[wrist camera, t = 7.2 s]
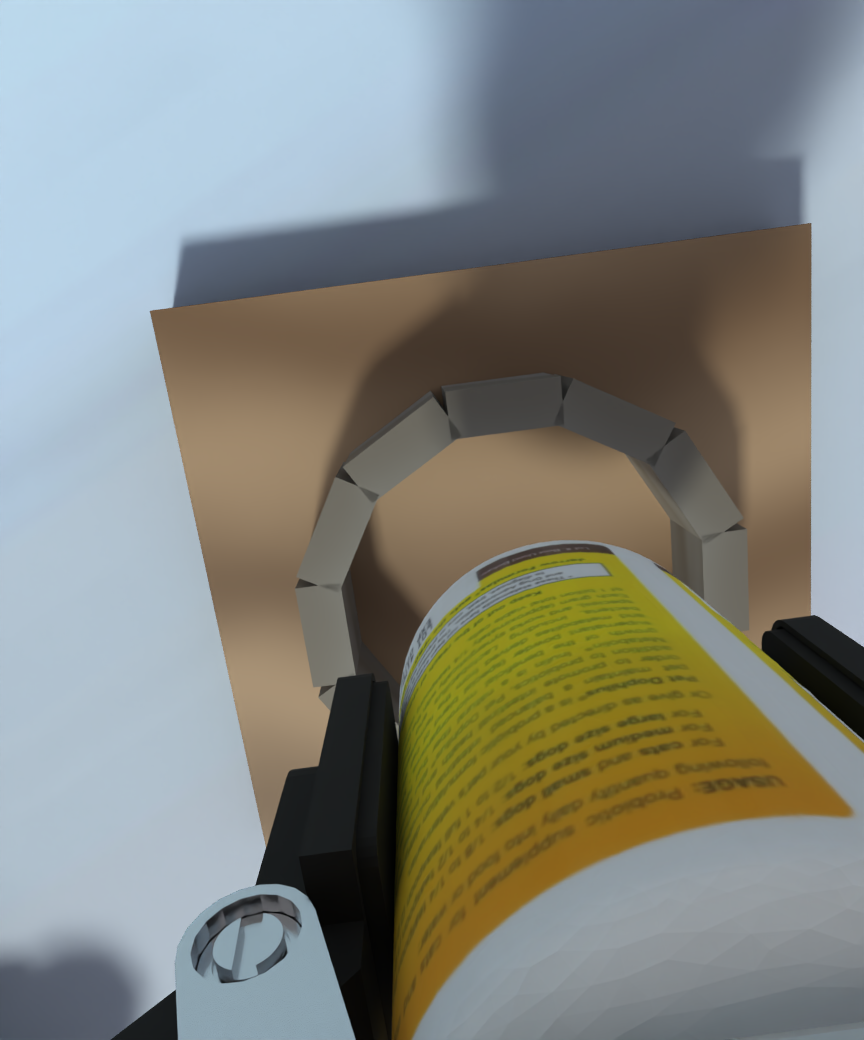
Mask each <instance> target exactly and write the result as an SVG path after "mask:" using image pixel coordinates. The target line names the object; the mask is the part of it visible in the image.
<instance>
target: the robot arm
mask: <svg viewBox="0 0 864 1040" xmlns="http://www.w3.org/2000/svg"><path fill="white" fill-rule="evenodd" d="M761 644H762V651H763V652H764V653H765V654H766V655H768V656H769V657H770V658H771V659H773V660H774V661H775V662H777V663H778V664H779V666H780V667H782V668H783V669H784V670H785V671H786V672H787V673H788V674H790V675H791V676H792V677H793V678H794V679H795V680H796V681H797V682H798V683H799V684H801V685H802V686H803V687H804V688H806V689H807V690H808V691H810V692H811V693H812V694H813V695H814V697H815V698H816V699H818V700H819V701H820V702H821V703H822V704H823V705H824V706H826V707H827V708H828V709H829V710H830V711H831V712H832V713H833V714H835V715H836V716H837V717H838V718H839V719H840V720H841V721H843V722H844V723H845V724H846V725H847V726H848V727H849V728H850V729H852V730H853V731H854V732H855V733H856V734H857V735H858V736H859V737H861V738H862V739H863V740H864V647H863V646H861V645H860V644H858V643H857V642H855V641H854V640H852V639H851V638H849V637H848V636H846V635H845V634H843V633H842V632H840V631H839V630H837V629H836V628H834V627H833V626H832V625H830V624H829V623H827V622H826V621H824V620H823V619H821V618H820V617H818V616H815V615H812V616H805V617H797V618H789V619H782V620H776V621H775V622H774V623H773V626H772V629H771V630H770V631H765V632H764V633H763V636H762V643H761ZM397 777H398V737H397V730H396V724H395V717H394V711H393V705H392V698H391V692H390V686H389V682H388V681H381V682H376V680H375V676H374V673H370V674H362V675H355V676H347V677H339V678H338V679H337V683H336V687H335V692H334V696H333V701H332V705H331V710H330V715H329V719H328V724H327V728H326V733H325V738H324V742H323V747H322V751H321V756H320V761H319V765H318V766H315V767H307V768H299V769H292V770H290V771H289V772H288V775H287V777H286V780H285V784H284V787H283V791H282V794H281V798H280V801H279V805H278V808H277V812H276V815H275V819H274V822H273V826H272V829H271V833H270V836H269V840H268V843H267V847H266V850H265V854H264V857H263V861H262V864H261V868H260V871H259V875H258V878H257V882H256V885H255V886H253V887H249V888H245V889H241V890H238V891H236V892H234V893H232V894H230V895H228V896H226V897H223V898H221V899H219V900H218V901H217V902H215V903H214V904H212V905H211V906H210V907H208V908H207V909H206V910H204V911H203V912H202V913H201V914H200V915H199V916H198V917H197V918H196V919H195V920H194V921H193V922H192V924H191V925H190V926H189V927H188V928H187V929H186V931H185V933H184V935H183V937H182V939H181V941H180V943H179V945H178V947H177V953H176V959H175V980H176V990H175V991H174V992H172V993H171V994H170V995H168V996H167V997H166V998H164V999H163V1000H162V1001H160V1002H159V1003H158V1004H157V1005H155V1006H154V1007H153V1008H151V1009H150V1010H149V1011H147V1012H146V1013H145V1014H144V1015H142V1016H141V1017H140V1018H138V1019H137V1020H136V1021H134V1022H133V1023H132V1024H131V1025H129V1026H128V1027H127V1028H125V1029H124V1030H123V1031H121V1032H120V1033H119V1034H118V1035H116V1036H115V1037H114V1038H112V1039H111V1040H392V994H393V945H394V888H395V855H396V812H397ZM727 1040H864V1022H858V1023H850V1024H842V1025H834V1026H827V1027H819V1028H811V1029H804V1030H796V1031H788V1032H781V1033H773V1034H765V1035H758V1036H750V1037H742V1038H735V1039H727Z"/></svg>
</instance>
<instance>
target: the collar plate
mask: <svg viewBox="0 0 864 1040" xmlns="http://www.w3.org/2000/svg"><path fill="white" fill-rule="evenodd" d="M150 313H151V318H152V323H153V327H154V332H155V336H156V341H157V346H158V350H159V355H160V360H161V364H162V369H163V373H164V378H165V383H166V387H167V392H168V397H169V401H170V406H171V410H172V415H173V420H174V424H175V429H176V433H177V438H178V443H179V447H180V452H181V457H182V461H183V466H184V470H185V475H186V480H187V484H188V489H189V493H190V498H191V503H192V507H193V512H194V517H195V521H196V526H197V530H198V535H199V540H200V544H201V549H202V554H203V558H204V563H205V567H206V572H207V577H208V581H209V586H210V590H211V595H212V600H213V604H214V609H215V614H216V618H217V623H218V627H219V632H220V637H221V641H222V646H223V651H224V655H225V660H226V664H227V669H228V674H229V678H230V683H231V687H232V692H233V697H234V701H235V706H236V711H237V715H238V720H239V724H240V729H241V734H242V738H243V743H244V748H245V752H246V757H247V761H248V766H249V771H250V775H251V780H252V784H253V789H254V794H255V798H256V803H257V808H258V812H259V817H260V821H261V826H262V831H263V835H264V840H265V845H266V847H267V843H268V840H269V836H270V833H271V829H272V826H273V822H274V819H275V815H276V812H277V808H278V805H279V801H280V798H281V794H282V791H283V787H284V784H285V780H286V777H287V775H288V772H289V771H290V770H292V769H299V768H307V767H315V766H318V765H319V761H320V756H321V751H322V747H323V742H324V738H325V733H326V728H327V724H328V719H329V715H330V710H331V705H332V701H333V696H334V692H335V687H336V683H337V679H338V678H339V677H347V676H355V675H362V674H370V673H374V676H375V680H376V682H381V681H388V682H389V686H390V692H391V698H392V705H393V711H394V717H395V724H396V730H397V737H398V729H399V698H400V686H401V680H402V674H403V669H404V665H405V660H406V657H407V654H408V651H409V648H410V645H411V643H412V641H413V639H414V636H415V634H416V632H417V630H418V628H419V627H420V625H421V623H422V621H423V619H424V618H425V616H426V615H427V614H428V612H429V611H430V609H431V608H432V606H433V605H434V604H435V603H436V602H437V600H438V599H439V598H440V597H441V596H442V595H443V594H444V593H445V592H446V591H447V590H448V589H449V588H450V587H451V586H452V585H453V584H454V583H455V582H456V581H458V580H459V579H460V578H461V577H462V576H464V575H465V574H466V573H468V572H469V571H471V570H472V569H474V568H475V567H477V566H478V565H480V564H482V563H484V562H485V561H487V560H489V559H491V558H493V557H495V556H497V555H500V554H502V553H505V552H508V551H511V550H514V549H517V548H520V547H523V546H527V545H531V544H536V543H541V542H550V541H559V540H579V541H593V542H600V543H604V544H609V545H613V546H617V547H620V548H624V549H627V550H630V551H632V552H635V553H637V554H640V555H642V556H643V557H646V558H648V559H650V560H651V561H653V562H655V563H656V564H658V565H660V566H661V567H663V568H665V569H666V570H668V571H669V572H670V573H672V574H673V575H674V576H676V577H677V578H678V579H679V580H681V581H682V582H683V583H685V584H686V585H687V586H688V587H690V588H691V589H692V590H693V591H694V592H695V593H696V594H697V595H698V596H700V597H701V598H702V599H703V600H704V601H705V602H707V603H708V604H709V605H710V606H711V607H712V608H714V609H715V610H716V611H717V612H718V613H720V614H721V615H722V616H723V617H724V618H726V619H727V620H728V621H730V622H731V623H732V624H733V625H734V626H735V627H736V628H737V629H738V630H740V631H741V632H742V633H743V634H744V635H745V636H746V637H747V638H748V639H749V640H750V641H752V642H753V643H754V644H755V645H756V646H757V647H758V648H760V649H761V650H762V644H761V643H762V636H763V633H764V632H765V631H770V630H771V629H772V626H773V623H774V622H775V621H776V620H782V619H789V618H797V617H805V616H811V223H808V224H801V225H793V226H786V227H778V228H771V229H763V230H756V231H748V232H741V233H733V234H725V235H718V236H710V237H703V238H695V239H688V240H680V241H673V242H665V243H658V244H650V245H643V246H635V247H628V248H620V249H612V250H605V251H597V252H590V253H582V254H575V255H567V256H560V257H552V258H545V259H537V260H530V261H522V262H515V263H507V264H499V265H492V266H484V267H477V268H469V269H462V270H454V271H447V272H439V273H432V274H424V275H417V276H409V277H402V278H394V279H386V280H379V281H371V282H364V283H356V284H349V285H341V286H334V287H326V288H319V289H311V290H304V291H296V292H289V293H281V294H273V295H266V296H258V297H251V298H243V299H236V300H228V301H221V302H213V303H206V304H198V305H191V306H183V307H176V308H168V309H160V310H153V311H150Z"/></svg>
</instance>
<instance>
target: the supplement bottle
mask: <svg viewBox="0 0 864 1040" xmlns="http://www.w3.org/2000/svg"><path fill="white" fill-rule="evenodd" d="M858 1022H864V740H863V739H862V738H861V737H859V736H858V735H857V734H856V733H855V732H854V731H853V730H852V729H850V728H849V727H848V726H847V725H846V724H845V723H844V722H843V721H841V720H840V719H839V718H838V717H837V716H836V715H835V714H833V713H832V712H831V711H830V710H829V709H828V708H827V707H826V706H824V705H823V704H822V703H821V702H820V701H819V700H818V699H816V698H815V697H814V695H813V694H812V693H811V692H810V691H808V690H807V689H806V688H804V687H803V686H802V685H801V684H799V683H798V682H797V681H796V680H795V679H794V678H793V677H792V676H791V675H790V674H788V673H787V672H786V671H785V670H784V669H783V668H782V667H780V666H779V664H778V663H777V662H775V661H774V660H773V659H771V658H770V657H769V656H768V655H766V654H765V653H764V652H763V651H762V650H761V649H760V648H758V647H757V646H756V645H755V644H754V643H753V642H752V641H750V640H749V639H748V638H747V637H746V636H745V635H744V634H743V633H742V632H741V631H740V630H738V629H737V628H736V627H735V626H734V625H733V624H732V623H731V622H730V621H728V620H727V619H726V618H724V617H723V616H722V615H721V614H720V613H718V612H717V611H716V610H715V609H714V608H712V607H711V606H710V605H709V604H708V603H707V602H705V601H704V600H703V599H702V598H701V597H700V596H698V595H697V594H696V593H695V592H694V591H693V590H692V589H691V588H690V587H688V586H687V585H686V584H685V583H683V582H682V581H681V580H679V579H678V578H677V577H676V576H674V575H673V574H672V573H670V572H669V571H668V570H666V569H665V568H663V567H661V566H660V565H658V564H656V563H655V562H653V561H651V560H650V559H648V558H646V557H643V556H642V555H640V554H637V553H635V552H632V551H630V550H627V549H624V548H620V547H617V546H613V545H609V544H604V543H600V542H593V541H579V540H559V541H550V542H541V543H536V544H531V545H527V546H523V547H520V548H517V549H514V550H511V551H508V552H505V553H502V554H500V555H497V556H495V557H493V558H491V559H489V560H487V561H485V562H484V563H482V564H480V565H478V566H477V567H475V568H474V569H472V570H471V571H469V572H468V573H466V574H465V575H464V576H462V577H461V578H460V579H459V580H458V581H456V582H455V583H454V584H453V585H452V586H451V587H450V588H449V589H448V590H447V591H446V592H445V593H444V594H443V595H442V596H441V597H440V598H439V599H438V600H437V602H436V603H435V604H434V605H433V606H432V608H431V609H430V611H429V612H428V614H427V615H426V616H425V618H424V619H423V621H422V623H421V625H420V627H419V628H418V630H417V632H416V634H415V636H414V639H413V641H412V643H411V645H410V648H409V651H408V654H407V657H406V660H405V665H404V669H403V674H402V680H401V686H400V698H399V729H398V777H397V812H396V855H395V888H394V945H393V994H392V1040H727V1039H735V1038H742V1037H750V1036H758V1035H765V1034H773V1033H781V1032H788V1031H796V1030H804V1029H811V1028H819V1027H827V1026H834V1025H842V1024H850V1023H858Z"/></svg>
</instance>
